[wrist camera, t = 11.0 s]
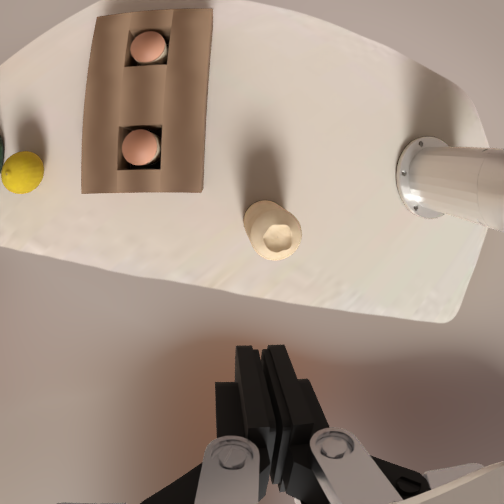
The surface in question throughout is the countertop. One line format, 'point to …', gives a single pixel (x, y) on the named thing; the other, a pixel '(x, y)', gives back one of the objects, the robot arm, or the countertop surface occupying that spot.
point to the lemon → (22, 172)
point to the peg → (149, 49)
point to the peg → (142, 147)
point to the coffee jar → (1, 154)
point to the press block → (147, 102)
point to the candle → (272, 230)
